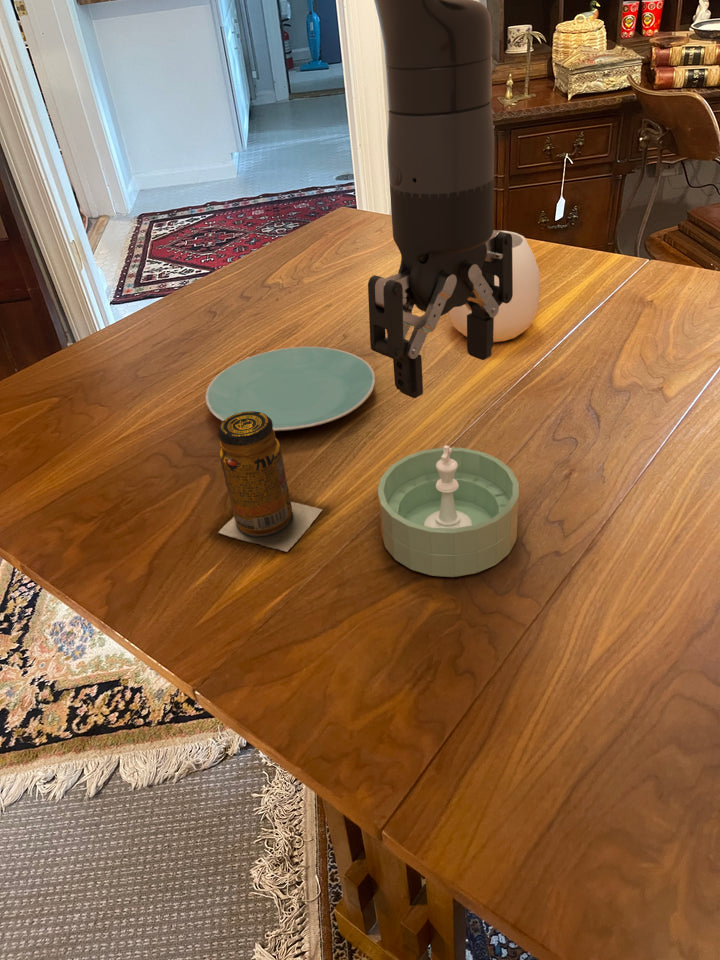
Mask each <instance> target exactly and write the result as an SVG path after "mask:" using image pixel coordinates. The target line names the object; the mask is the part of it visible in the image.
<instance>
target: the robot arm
mask: <svg viewBox="0 0 720 960" xmlns="http://www.w3.org/2000/svg"><path fill="white" fill-rule="evenodd" d="M373 1H374V5H375V10H376V13H377V17H378V21H379V25H380V31H381V36H382V40H383V48H384V49H383V50H384V60H385V61H384V62H385V72H386V74H385V75H386V90H387V102H388V103H387V106H388V107H387V108H388V111H387V112H388V120H387V121H388V122H387V123H388V125H387V137H386V138H387V139H386V141H387V142H386V145H387V146H386V147H387V148H386V149H387V152H386V153H387V165H388V181H389V195H390V209H391V210H390V211H391V213H390V214H391V225H392V226H391V227H392V238H393V241H394V243H395V245H396V246H397V248H398V250H399V253H400V257H401V258H400V264H399V269H398V272H397V273H396V274H393V275H390V276H387V277H382V276H379V275H376V274H374V275H372V276H371V277H369V279H368V282H367V294H368V295H367V296H368V297H367V299H368V319H369V320H368V322H369V343H370V349H371V351H373V352H375V353H376V354H377V353H378V354H380V355H382V356H385V357H387V358H390V359H392V363H393V377H394V386H395V388H396V390H398V391H399V392H400V393H401V394H403V395H405V396H408V397H410V398H412V399H417V398H418V397H420V396H422V395H423V394H424V382H423V359H422V355H421V354H420V353H421V351H422V348H423V346H424V343H425V342H426V339H427V336H428V334H430V333H433V332H434V331H435V330H436V327H437V325H438V322H439V320H440V318H441V317H442V316H445V315H446V314H449V313H448V312H449V311H450V310H451V309H452V308H454V307H459V306H462V305H464V304H465V305H466V307H467V308H468V309H469V310H470V311H472V313H470V314H468V315H467V337H466V351H467V354H468V355H469V356H471V357H473V358H476V359H479V360H480V361H481V360H482V361H485V360H487V359H489V358H490V357H491V356H492V352H493V351H492V350H493V345H494V342H493V329H494V317H495V316H496V315H497V313H498V311H499V306H500V305H501V304H502V303H509V302H510V301H511V299H512V296H513V273H512V235H511V234H509V233H504V232H501V231H502V230H497V229H494V219H495V218H494V214H495V211H494V209H495V207H494V206H495V205H494V204H495V143H496V142H495V126H494V118H493V107H492V105H493V104H492V99H493V98H492V96H493V95H492V93H493V88H492V87H493V26H492V25H493V24H492V17H491V13H490V12H489V9H488V8H487V7H486V5H484V4H483V3H482V2H479V1H477V0H373ZM494 275H495V276H497V277H498V278H499V286H496V285H495V283H494ZM415 306H416V308H417V309H418V310H419V311H421V312H424V313H423V315H421V316H418V315H416V314H413V308H414V307H415ZM411 327H413V329H412V332H411V335H410V337H409V339H406V338H407V335H408V333H409V330H410V328H411ZM386 333H387V335H386Z"/></svg>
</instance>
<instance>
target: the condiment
mask: <svg viewBox="0 0 720 960" xmlns="http://www.w3.org/2000/svg"><path fill="white" fill-rule="evenodd" d="M217 434H218V438H219V445H220V447H221V448H220V451H219V459H220V465H221V469H222V472H223V475H224V476H223V477H224V482H225V486H226V491H227V493H228V497H229V502H230V506H231V509H232V514H233V517H232V518H231V519H230V520H229V521H228V522H226V523H225V525H223V526H222V528H221V529H219V531H218V532H217V533H218V534H221V535H223V536H227V537H229V538H233V539H237V540H239V541H245V542H247V543H252V544H258V545H260V546H263V547H267V548H270V549H273V550H279V551H283V552H286V553H288V552H289V550H290V549H291V548H293V546H294V545H295V544H296V543H297V542H298V540H299V539H301V537H302V536H303V535H304V534H305V533H306V531H307V530H308V529H309V528H310V526H311V525H312V524H313V523H314V521H315V520H316V519H317V518H318V516H319V515H320V514H321V512H322V511H323V509H322V508H318V507H315V506H311V505H308V504H303V503H300V502H294V501H291V496H290V491H289V487H288V485H289V484H288V481H287V475H286V469H285V463H284V458H283V453H282V452H283V451H282V448H281V443H280V442H279V440H278V438H276V431H274V430H273V424H272V420H271V419H270V418H269V417H268V416H267V415H266V414H263V413H261V412H255V411H246V412H240V413H237V414H234V415H232V416H230V417H228V418H226V419H225V420H224V421H221V422H220V424H219V427H218V432H217Z"/></svg>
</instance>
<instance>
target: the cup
mask: <svg viewBox="0 0 720 960" xmlns="http://www.w3.org/2000/svg"><path fill="white" fill-rule="evenodd" d="M500 231H501V232H504V233H509V234H511V235H512V273H513V296H512V299H511V301H510V302H509V303H502V304H501V305H500V306H499V311H498V313H497V315H496V316H495V317H494V329H493V343H499V342H505V341H509V340H512V339H515V338H517V337H518V336H520V335H521V334H523V333H524V332H525V331H526V330H528V329H529V328H531V325H532V323H533V320H534V318H535V317H536V314H537V312H538V309H539V307H540V299H541V297H540V296H541V276H540V269H539V266H538V265H539V264H538V262H537V260H536V256H535V254H534V252H533V250H532V248H531V247H530V244H529V243H528V241H527V239H526V237H525V236H524V235H522V234H520V233H518V232H514V231H509V230H500ZM494 283H495V285H496V286H499V278H498V277H497V276H495V275H494ZM470 313H472V311H470V310H469V309H468V308H467V307H466V305H465V304H464V305H462V306H459V307H454V308H452V309H451V310H450V311H449V312H448V313H447V314H448V317H449V318H450V321H451V323H452V325H453V328H454V329H455V330H456V331H458V332H459V333H461V334H462V335H463V336H465V337H466V338H467V315H468V314H470Z"/></svg>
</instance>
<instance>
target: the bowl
mask: <svg viewBox="0 0 720 960" xmlns="http://www.w3.org/2000/svg"><path fill="white" fill-rule="evenodd" d="M443 447H444V446H442V447H436V448H435V447H434V448H429V449H422V450H419V451H416V452H413V453H411V454H408V455H406V456H403V457H402V458H400V459H399V460H397V461H395V462H394V463H393V464H391V465H390V466H388V468H387V469H386V471H385V472H384V473H383V474H382V475H381V477H380V480H379V483H378V486H377V493H376V494H377V501H378V502H377V503H378V513H379V524H380V535H381V538H382V542H383V546H384V548H385V549H386V551H388V553H389V554H390V555H391V556H392V558H393V559H394V560H395V561H397V562H398V563H400V564H401V565H403V566H404V567H406V568H407V569H409V570H411V571H414V572H418V573H421V574H424V575H427V576H433V577H447V578H455V577H457V578H458V577H462V576H467V575H474V574H479V573H480V572H483V571H485V570H487V569H489V568H493V567H494V566H496V565H498V564H499V563H500V562H501V561H502V560H504V559H505V558H506V557H507V556H509V554H510V553H511V551H512V549H513V547H514V545H515V543H516V541H517V539H518V538H517V537H518V523H519V522H518V520H519V518H518V517H519V502H520V501H519V500H520V482H519V480H518V479H517V476H516V474H515V473H514V471H513V469H512V468H510V467H509V466H508V465H507V464H505V463H504V462H503V461H502V460H501V459H500V458H497V457H496V456H493V455H491V454H488V453H486V452H484V451H481V450H475V449H471V448H466V447H455V446H454V447H453V446H452V447H451V446H450V448H452V453H451V454H450V459H453V460H455V461H456V462H457V464H458V467H457V470H456V472H455V475H454V478H453V479H455V480H456V481H457V482H458V485H459V487H458V489H457V490H456V491H454V492H453V498H454V504H455V510H456V511H460V512H462V513H464V514H466V515H467V516H468V517H469V518H470V519H471V521H472V524H473V525H472V526H466V527H459V528H453V529H451V528H431V527H427V526H424V522H425V520H426V519H427V517H428V516H430V515H431V514H433V513H435V512H437V511H440V506H441V499H442V492H440V491H439V490H437V488H436V483H437V481H438V480H439V479H441V478H440V475H439V473H438V471H437V469H436V463H437V462H438V461H439V460H441V456H442V455H443Z"/></svg>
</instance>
